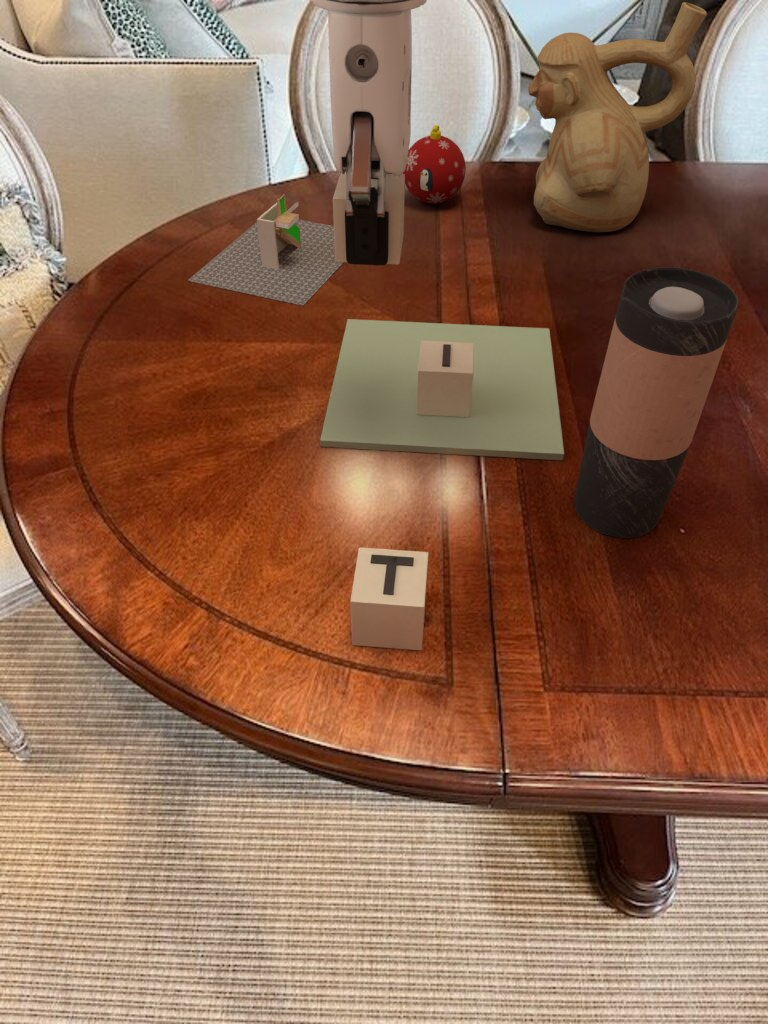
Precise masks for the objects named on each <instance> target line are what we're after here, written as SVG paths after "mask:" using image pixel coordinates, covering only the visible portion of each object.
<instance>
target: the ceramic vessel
mask: <svg viewBox="0 0 768 1024" xmlns="http://www.w3.org/2000/svg"><path fill="white" fill-rule="evenodd" d="M707 16H708V12H707V11H706V10H705V9H704V8H702V7H700V6H698V5H696V4H692V3H689V2H685V1H684V2H682V3H681V6H680V8H679V11H678V13H677V16H676V18H675V21H674V23H673V25H672V27H671V29H670V31H669V32H668V33H669V34H668V35H667V37H666V38H665V40H664V41H657V40H653V39H652V40H651V39H642V38H630V39H619V40H616V41H611V42H608V43H607V42H606V43H603V44H599V45H598V44H597V45H596V44H595V43H594V42H593V41H592V40H591V39H590V38H589V37H587V36H586V35H584V34H582V33H580V32H564V33H560V34H559V35H556V36H554V37H553V38H551V39H550V40H548V41H547V43H545V44H544V46H543V47H542V48H541V50H540V51H539V53H538V55H537V58H536V60H537V63H539V68H538V69H539V70H538V71H537V73H536V74H535V76H534V77H533V79H532V81H531V82H530V83H529V85H528V88H527V89H528V90H527V91H528V95H530V97H534V98H536V99H535V102H534V105H535V108H536V110H537V111H538V112H539V114H540V116H541V118H542V119H544V120H551V119H554V120H555V121H554V122H555V124H554V127H553V129H552V132H551V135H550V139H549V143H548V147H547V153H546V156H545V158H544V159H543V160H542V161H541V162H540V164H539V166H538V168H537V171H536V173H535V190H534V194H533V206H534V207H535V210H536V212H537V213H538V214H539V216H540V217H541V218H542V221H543V222H544V223H545V224H547V225H549V226H557V227H561V228H565V229H569V230H573V231H579V232H588V233H610V232H616V231H619V230H622V229H623V228H625V227H627V226H628V225H630V224H631V223H632V222H633V221H634V220H635V218H636V217H637V216H638V214H639V212H640V210H641V207H642V205H643V203H644V199H645V197H646V193H647V187H648V183H649V175H650V174H649V173H650V154H649V146H648V141H647V137H646V132H650V131H653V130H657V129H660V128H662V127H664V126H666V125H668V124H671V122H673V121H675V120H676V119H677V118H678V117H679V116H680V115H681V114H682V113H683V111H685V109H686V108H687V106H688V105H689V103H690V102H691V100H692V98H693V95H694V91H695V87H696V71H695V66H694V64H693V62H692V61H691V59H690V57H689V55H688V53H687V51H688V49H689V47H690V46H691V43H692V41H693V39H694V37H695V35H696V33H697V32H698V30H699V29H700V27H701V25H702V23H703V22H704V20H705V19H706V17H707ZM627 64H628V65H630V64H646V65H649V66H654V67H657V68H660V69H662V70H664V71H665V72H666V73H668V75H669V76H670V78H671V81H672V86H671V89H670V91H669V92H668V94H667V96H666V97H665V98H664V99H662V100H661V101H659V102H657V103H654V104H652V105H648V106H636V105H631V104H629V103H628V102H627V100H626V99H625V98H624V97H623V95H622V94H621V93H620V92H619V90H618V89H617V88H616V87H615V85H614V83H613V82H612V81H611V79H610V77H609V74H608V71H610V70H612V69H614V68H617V67H620V66H623V65H627Z"/></svg>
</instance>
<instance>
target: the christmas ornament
mask: <svg viewBox="0 0 768 1024" xmlns="http://www.w3.org/2000/svg"><path fill="white" fill-rule="evenodd" d="M466 166H467V165H466V160H465V156H464V153H463V152H462V149H461V148H460V147H459V145H458V144H457V143H456V142H454V141H453V140H452V139H450V138H449V137H447V136H443V135H442V131H441V130H440V126H439V124H438V125H437V124H435V125H434V126H433V127H432V129H431V131H430V134H429V135H425V136H423V137H421V138H419V139H418V140H417V141H415V142H414V143H413V144H412V145H411V146H409V151H408V157H407V163H406V168H405V170H404V172H403V173H402V174H405V186H406V188H407V190H408V191H409V193H410V194H411V195H412V196H413V198H415V199H416V200H418V201H420V202H422V203H425V204H430V205H436V204H442V203H445V202H447V201H449V200H451V199H452V198H453V197H454V196H455V195H457V193H458V192H459V191H460V189H461V188H462V186H463V183H464V181H465V178H466V172H467V171H466V170H467V167H466Z"/></svg>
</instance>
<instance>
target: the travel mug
mask: <svg viewBox="0 0 768 1024" xmlns="http://www.w3.org/2000/svg"><path fill="white" fill-rule="evenodd" d="M738 307H739V299H738V297H737V294H736V292H735V291H734V290H733V289H732V288H731V287H730V286H729V285H728V284H726V283H725V282H723V281H722V280H720V279H718V278H716V277H715V276H713V275H709V274H707V273H704V272H701V271H698V270H694V269H691V268H690V269H689V268H683V267H674V266H658V267H657V266H656V267H650V268H646V269H642V270H639V271H636V272H635V273H634V272H633V274H631V275H630V276H628V277H627V278H626V279H625V280H624V283H623V285H622V290H621V293H620V297H619V300H618V304H617V309H616V312H615V317H614V322H613V324H612V329H611V332H610V337H609V341H608V345H607V349H606V353H605V357H604V361H603V365H602V369H601V373H600V376H599V381H598V385H597V389H596V393H595V397H594V401H593V405H592V409H591V412H590V416H589V417H590V418H589V422H588V427H587V432H586V437H585V442H584V447H583V448H584V449H583V453H582V457H581V463H580V467H579V473H578V478H577V484H576V489H575V495H574V508H575V511H576V513H577V516H578V518H580V520H581V521H582V522H583V523H584V525H587V527H589V528H590V529H592V530H594V531H595V532H598V533H600V534H602V535H605V536H608V537H612V538H617V539H633V538H638V537H642V536H645V535H647V534H649V533H650V532H652V531H653V530H654V529H655V527H656V526H657V525H658V523H659V522H660V520H661V518H662V515H663V513H664V511H665V508H666V505H667V503H668V500H669V498H670V495H671V493H672V491H673V489H674V487H675V484H676V481H677V479H678V477H679V473H680V471H681V468H682V466H683V464H684V461H685V459H686V457H687V455H688V452H689V449H690V447H691V444H692V442H693V439H694V435H695V433H696V430H697V427H698V424H699V422H700V419H701V415H702V413H703V409H704V407H705V404H706V401H707V398H708V395H709V392H710V389H711V387H712V384H713V381H714V378H715V376H716V372H717V370H718V366H719V364H720V361H721V358H722V355H723V352H724V350H725V346H726V343H727V341H728V337H729V334H730V332H731V329H732V326H733V323H734V322H735V321H734V320H735V318H736V315H737V311H738Z"/></svg>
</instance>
